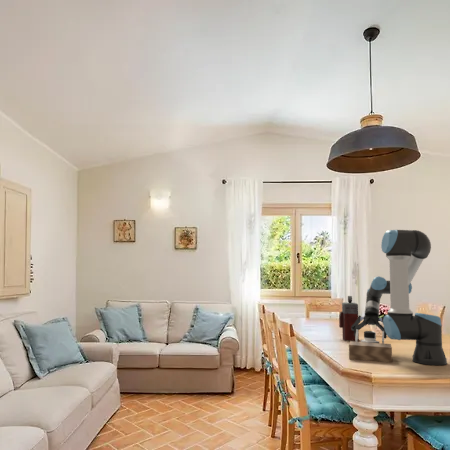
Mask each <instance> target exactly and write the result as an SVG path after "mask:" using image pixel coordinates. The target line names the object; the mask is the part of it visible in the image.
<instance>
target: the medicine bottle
mask: <svg viewBox="0 0 450 450" xmlns="http://www.w3.org/2000/svg"><path fill="white" fill-rule="evenodd" d="M360 342H369V343H380V341H378V340H377V333H376V331H374V330H372V331H371V330H365V331H364V332H363V339H360Z"/></svg>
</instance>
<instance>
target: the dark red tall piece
mask: <svg viewBox="0 0 450 450" xmlns="http://www.w3.org/2000/svg"><path fill="white" fill-rule="evenodd" d="M341 310H342V311H340V312H339V316H338V321H339V324H338V325H339V328H340V329H341V330H342V339H343V341H349V342H350V341H354V342H356V340H355V337H356V336H354V331H352V329H351V326H352V325H353V324H354V323H355V321H356V320H357V319H358V317H359V304H358V303H356V302H353V296H352V295H348V296H347V302H342V303H341ZM359 334H360V330H358V340H357V342H360V341H359V339H360V338H359V337H360V336H359Z"/></svg>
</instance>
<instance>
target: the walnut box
mask: <svg viewBox="0 0 450 450" xmlns="http://www.w3.org/2000/svg"><path fill="white" fill-rule="evenodd" d="M392 349H393V347H392V345H391V343H385V342H384V343H382V342H379V343H369V342H361V341H357V342H356V341H349V344H348V359H349V360H354V359H355V360H354V361H356V360H357V361H367V362H370V361H371V362H382V363H393V350H392Z"/></svg>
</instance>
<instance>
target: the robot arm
mask: <svg viewBox="0 0 450 450" xmlns="http://www.w3.org/2000/svg"><path fill="white" fill-rule="evenodd" d="M380 245H381V247H380V248H381V251H382V253H384V254H385V257H386V258H387V260H389V261H388V263H389V280H387V279H386V278H385V277H382V276H378V275H377V276H374V278H373V279H372V281H371V284H370V287H369V288H368V289H367V292H366V298H365V299H366V300H365V308H364V316H361V315H359V314H358V319H357V320H356V321H355V323H354V324H353V325H352V326H351V329H352V331H354V336H356V337H355V340H356V341H355V342H358V341H357V340H358V330H359V331H360V330H361V329H363V328H364V327H365V326H367V325H369V326H376V327H377V328H378V329H380V330H381V332H382V334H381V336H382V337H381V343H385V339H387V337H388V338H389V339H390V340H395V341H396V340H397V341H401V340H402V341H404V340H405V341H415V347H414V350H413V355H412V361H413V362H414V363H416V364H420V365H428V366H445V365H447V364H448V361H447V360H448V359H447V357H446V354H445V351H444V348H443V333H442V331H443V330H442V328H443V327H442V326H443V324H442V319H441V317H440V316H438V315H434V314H428V313H421V312H420V313H419V312H415V313H414V312H413V311H412V310H411V309H410V294H411V293H412V289H413V286H412V281H413V279H414V277H415V276H416V274H417V272H418V270H419V269H420V266H421V265H422V264H423V262H424V260H425V259H427V258H428V257H429V255H430V253H431V250H432V244H431V240H430V238H429V237H428V236H427V234H426V233H424V232H422V231H420V230H418V229H417V230H415V229H414V230H412V229H411V230H410V229H409V230H408V229H390V230H386V231H385V233H384V234H383V236H382V239H381V244H380ZM383 295H390V297H389V298H390V308H389V309H388V310H387V314H385V315H384V316H382V317H380V303H381V299H382V296H383ZM381 323H382V324H383V325H382V324H381Z"/></svg>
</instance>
